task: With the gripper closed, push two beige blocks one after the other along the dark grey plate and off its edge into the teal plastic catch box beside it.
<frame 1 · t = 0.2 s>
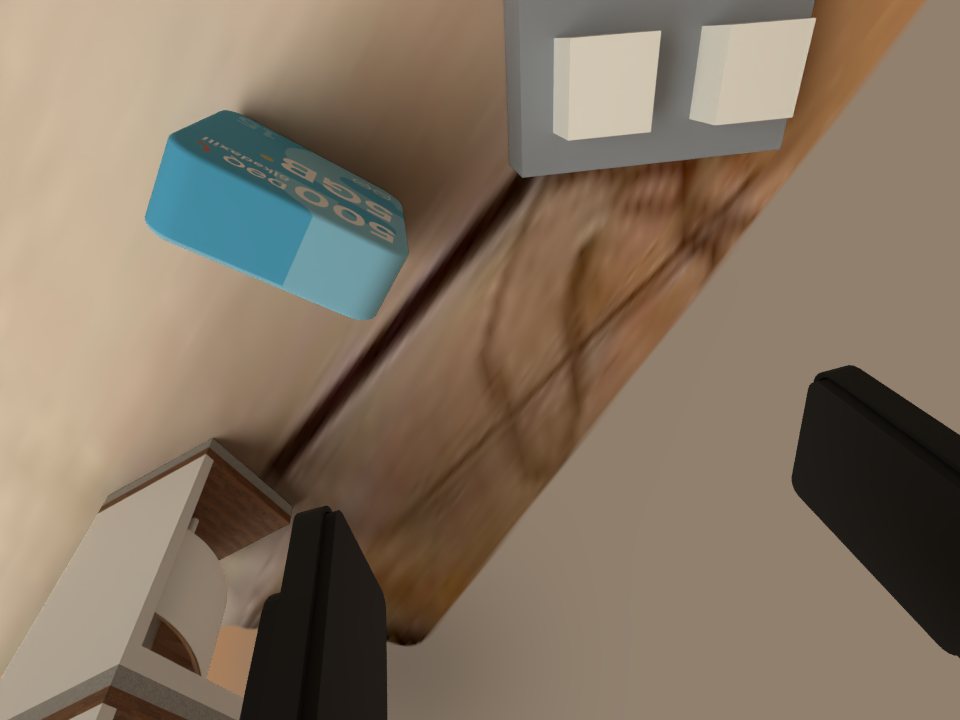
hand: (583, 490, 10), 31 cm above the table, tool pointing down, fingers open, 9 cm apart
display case: (205, 500, 48), on the table
plate: (641, 20, 33), on the table
beige block 2: (733, 70, 32), point 4 cm above the table, touching plate
beige block 1: (593, 83, 31), point 4 cm above the table, touching plate
data package: (308, 185, 35), on the table
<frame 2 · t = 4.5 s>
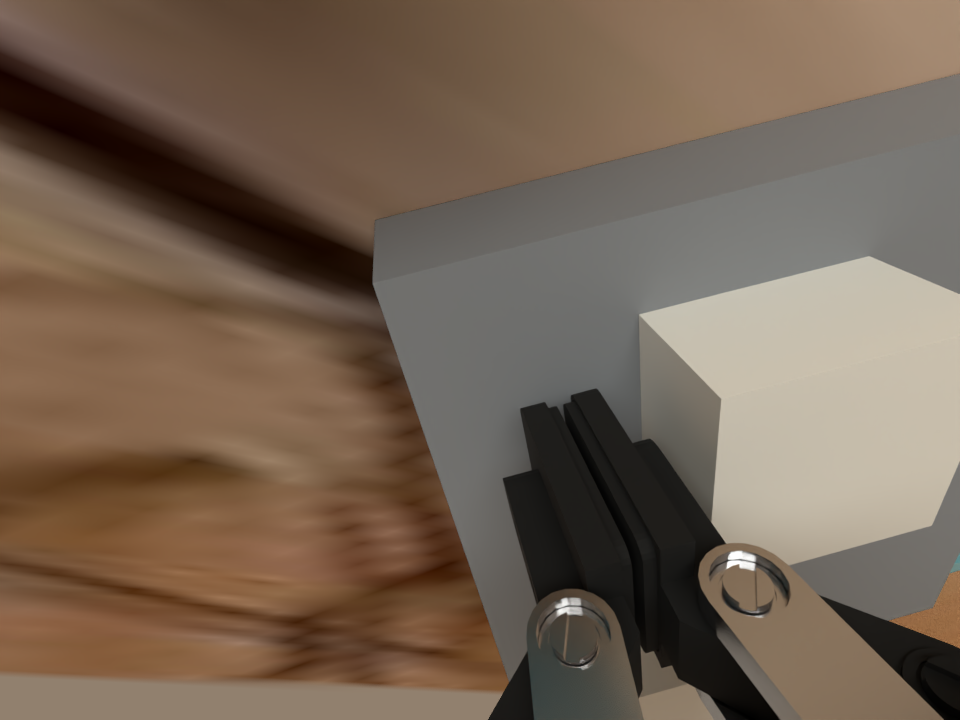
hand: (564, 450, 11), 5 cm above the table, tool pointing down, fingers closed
plate: (681, 416, 18), on the table
beige block 2: (651, 620, 17), point 4 cm above the table, touching plate
beige block 1: (744, 382, 12), point 4 cm above the table, touching plate
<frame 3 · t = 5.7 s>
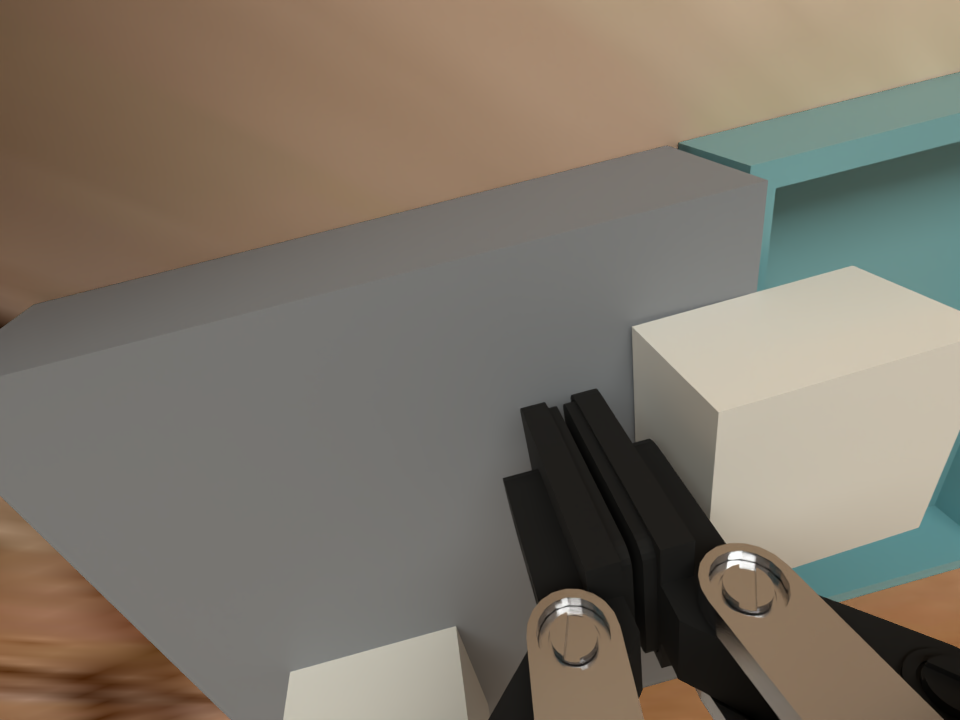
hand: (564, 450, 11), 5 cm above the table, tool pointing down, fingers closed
catch box: (840, 371, 18), on the table
plate: (442, 478, 17), on the table
beige block 2: (397, 689, 16), point 4 cm above the table, touching plate
beige block 1: (734, 390, 12), point 4 cm above the table, touching gripper
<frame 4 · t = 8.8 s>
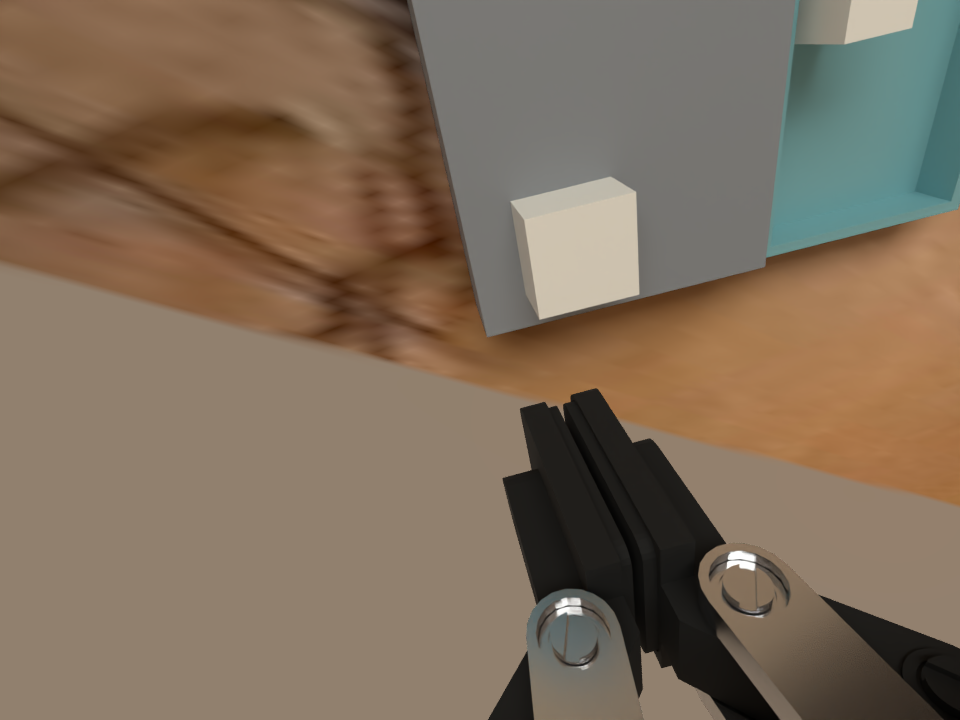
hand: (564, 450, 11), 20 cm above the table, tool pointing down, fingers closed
catch box: (849, 55, 27), on the table
plate: (590, 119, 27), on the table
beige block 2: (566, 238, 26), point 4 cm above the table, touching plate
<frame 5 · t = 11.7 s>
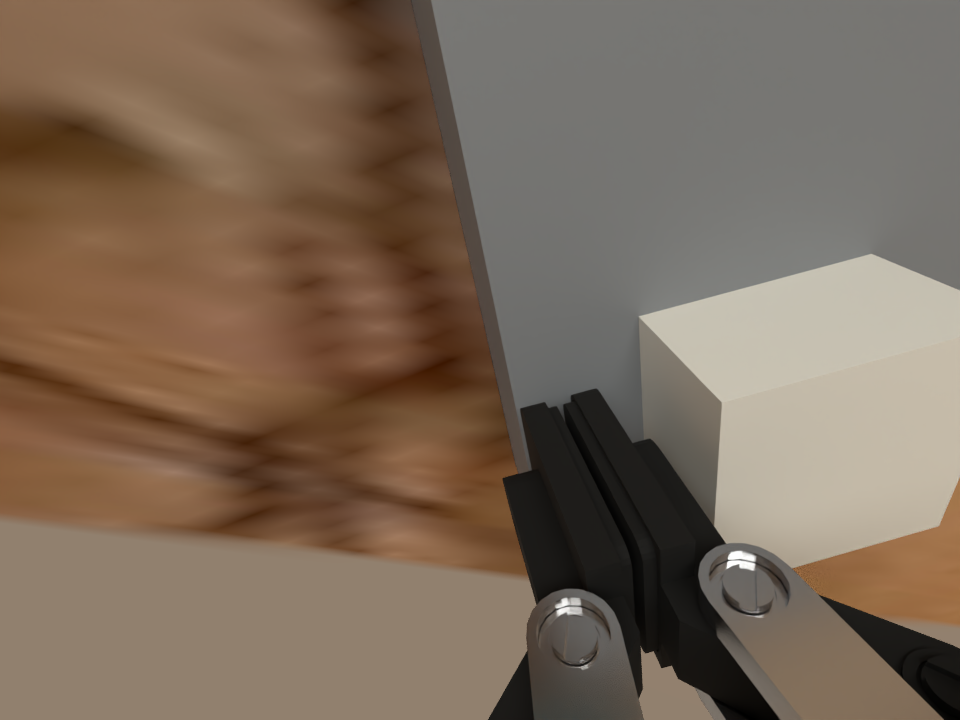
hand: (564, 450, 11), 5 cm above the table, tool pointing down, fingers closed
plate: (765, 124, 13), on the table
beige block 2: (746, 382, 12), point 4 cm above the table, touching gripper
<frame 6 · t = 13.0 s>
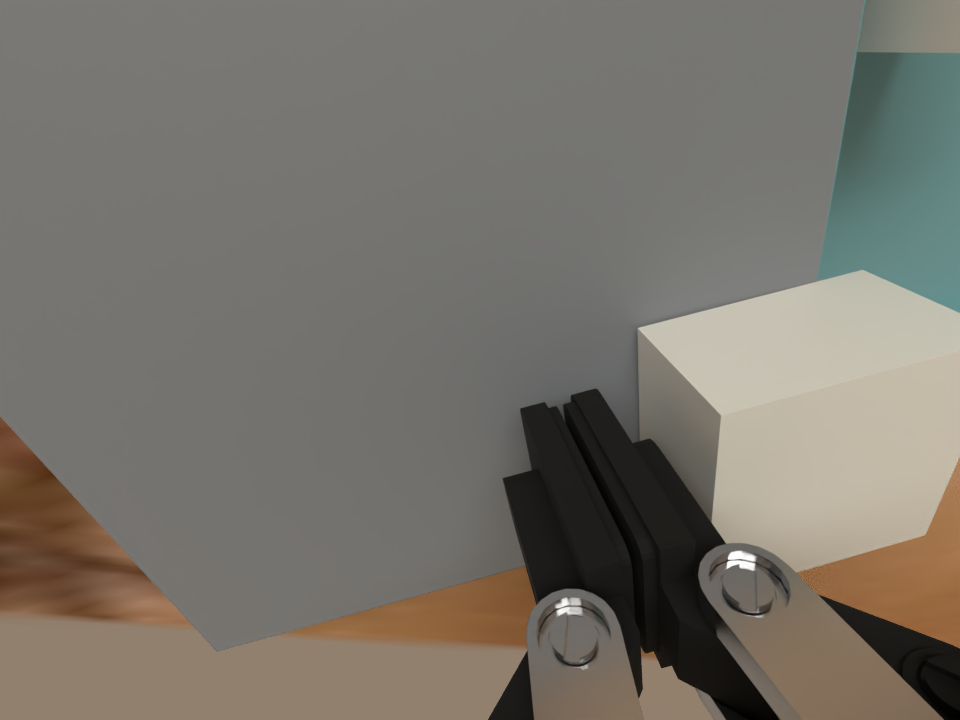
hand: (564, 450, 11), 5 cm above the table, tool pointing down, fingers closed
catch box: (952, 73, 13), on the table
plate: (407, 212, 13), on the table
beige block 2: (740, 393, 12), point 4 cm above the table, touching gripper
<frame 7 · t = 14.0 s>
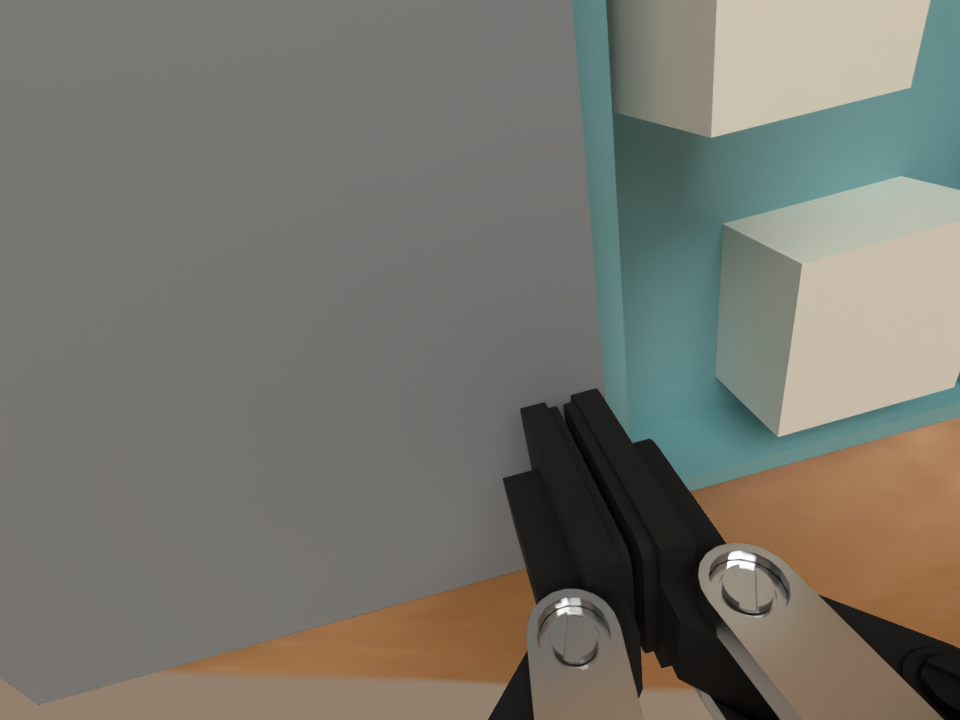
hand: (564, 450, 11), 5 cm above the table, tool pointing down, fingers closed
catch box: (775, 122, 13), on the table
plate: (216, 262, 12), on the table
beige block 2: (886, 332, 12), point 4 cm above the table, tilted 180°, touching catch box
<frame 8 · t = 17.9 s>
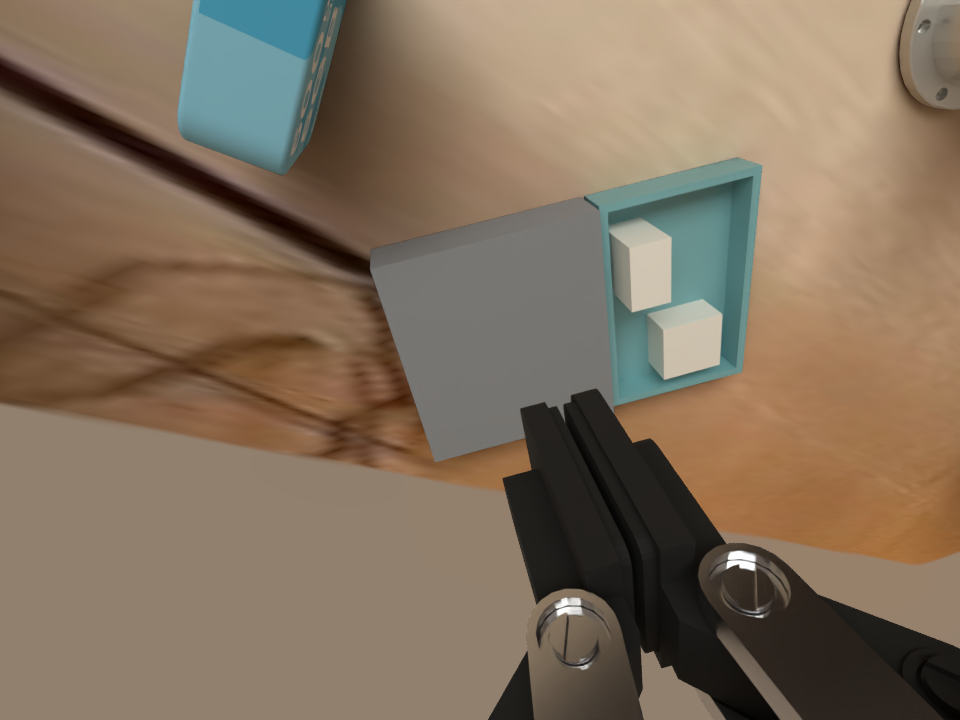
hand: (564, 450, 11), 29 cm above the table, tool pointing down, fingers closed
catch box: (661, 284, 43), on the table
plate: (497, 327, 43), on the table
beige block 2: (692, 348, 43), point 4 cm above the table, tilted 180°, touching catch box
beige block 1: (616, 268, 38), point 3 cm above the table, tilted 90°, touching catch box
data package: (298, 26, 30), on the table
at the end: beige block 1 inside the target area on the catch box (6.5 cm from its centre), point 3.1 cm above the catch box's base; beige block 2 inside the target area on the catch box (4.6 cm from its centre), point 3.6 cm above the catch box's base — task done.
